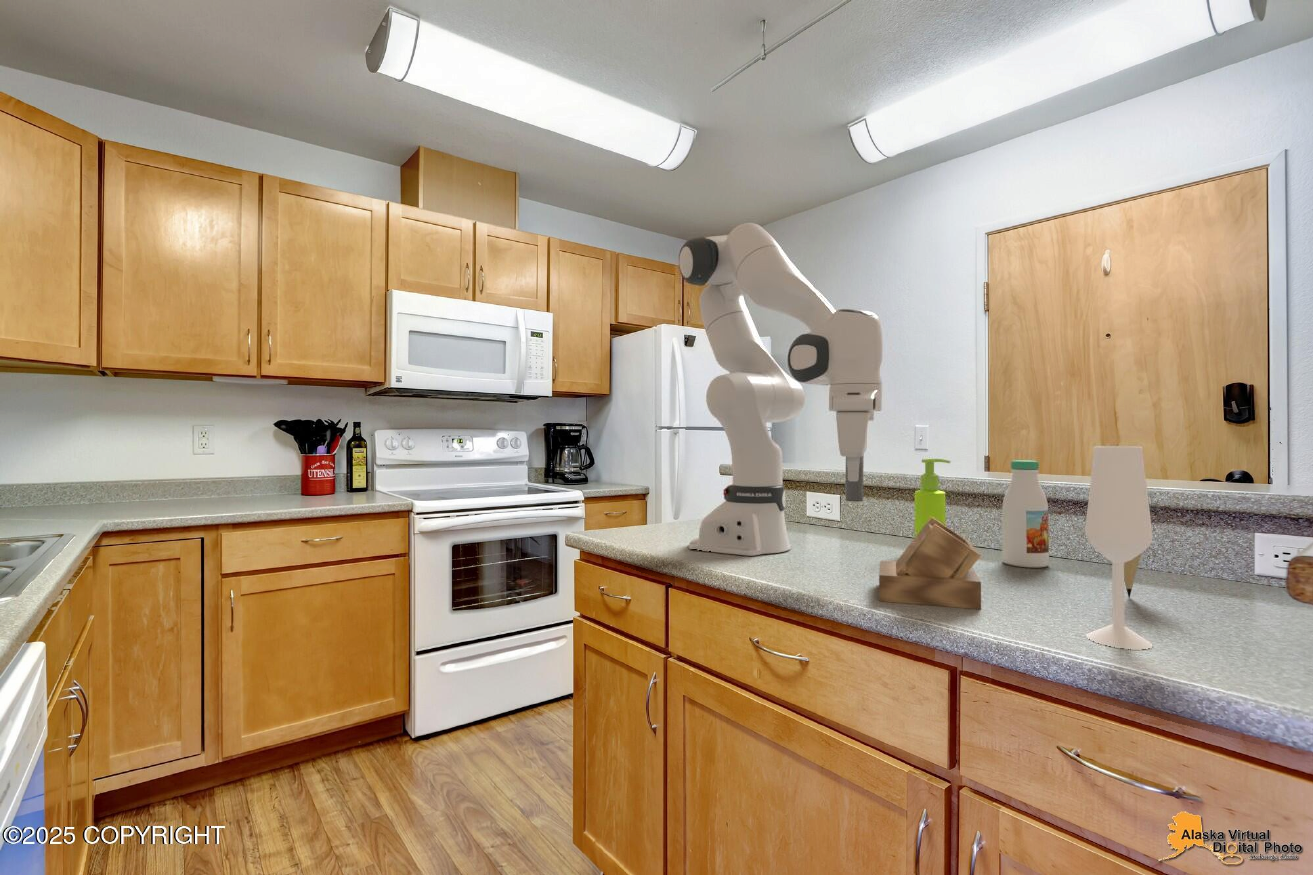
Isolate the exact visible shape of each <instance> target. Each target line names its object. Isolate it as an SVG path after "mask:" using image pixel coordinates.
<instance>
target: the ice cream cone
mask: <svg viewBox="0 0 1313 875" xmlns="http://www.w3.org/2000/svg"><path fill="white" fill-rule="evenodd" d="M1151 526H1152V527H1153V525H1152V524H1151ZM1141 556H1142V553H1141V554H1139V555H1138V556H1136V557H1135V558H1133V559H1132V560H1130V561H1128V562H1125V563H1124V586H1125V588H1126V592H1127V597H1128V599H1131V598H1130V597H1131V594H1132V590H1133V586H1134V582H1135V578H1136V574H1137V571H1138V567H1139V563H1140V559H1141Z"/></svg>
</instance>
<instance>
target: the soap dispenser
mask: <svg viewBox="0 0 1313 875" xmlns="http://www.w3.org/2000/svg"><path fill="white" fill-rule="evenodd" d="M951 462H952V461H951V460H947V459H942V458H925V459H921V463H924V466H925V467H924V468H925V469H924V470H925V471H924V473H923V474H921V475H920V489H919V490H918V489H917V490H915V491H914V538H915V537H916V536H917V535H918V533H919V532H920V531H921V529H922V528H923V527H924V526H925V524H926V523H927V522H928V520H929V519H930V518H931V517H933V518H934V519H936V520H937V521H939V522H940V523H942V524H943V525H945V526H946V492H945V491H942V490H940V489H939V486H940V485H939V484H940V482H939V480H940V479H939V478H940V477H939V475H938V474H937V473H935V463H947V464H950V463H951Z"/></svg>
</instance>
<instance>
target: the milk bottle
mask: <svg viewBox="0 0 1313 875" xmlns="http://www.w3.org/2000/svg"><path fill="white" fill-rule="evenodd" d="M1010 468H1011V470H1010V471H1011V473H1012V477H1011V480H1010V484H1009V485H1008V488H1007V490H1006V491H1005V494H1004V496H1003V500H1002V513H1001V517H1002V518H1001V521H1002V523H1001V532H1002V533H1001V542H1002V543H1001V547H1002V554H1001V556H1002V562H1003V563H1004V564H1006V565H1009V566H1015V567H1019V568H1020V567H1021V568H1022V567H1023V568H1031V569H1032V568H1045V567H1048V565H1049V563H1050V543H1049V542H1050V540H1049V539H1050V537H1049V536H1050V534H1049V532H1050V528H1049V521H1050V520H1049V519H1050V518H1049V505H1048V504H1049V503H1048V500H1047V496H1046V494H1045V492H1044V490H1043V488H1042V486H1041V483H1040V481H1039V477H1038V473H1039V468H1040V462H1039V461H1038V460H1028V459H1026V460H1024V459H1021V460H1020V459H1019V460H1016V459H1015V460H1011V462H1010Z"/></svg>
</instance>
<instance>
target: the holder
mask: <svg viewBox="0 0 1313 875" xmlns="http://www.w3.org/2000/svg"><path fill="white" fill-rule="evenodd" d="M981 556H982V555H981V553H979V552H978V551H977V549H975V544H973V543H972V542H970V541H969V540H967V539H966V538H964V537H963V536H961V535H960V534H958V533H957V532H956V531H954V530H953V529H951V528H949V527H948V526H946V524H945V525H943V524H942V523H940V522H939V521H937V520H936V519H934V518H933V517H931V518H930V519H929V520H928V522H927V523H926V524H925V526H924V527H923V528H922V529H921V531H920V532H919V533H918V535H917V536H916V537H915V536H914V538H913V539H912V541H911V542H910V543H909V545H908V546H907V548H906V549H905V550H904V551H903V552H902V554H901V555H900V556H899V558H898V559H897V560H895V561H889V560H880V561H879V570H878V571H879V572H878V574H879V575H878V586H879V587H878V588H879V589H878V592H879V593H878V598H879V600H878V601H879V602H887V603H888V602H889V603H900V604H910V605H911V604H912V605H913V604H914V605H925V606H938V607H949V608H962V609H963V608H964V609H973V610H975V609H976V610H981V609H982V582H981V579H980V577H979V576H978V574H977V573H976V571H975V569H974V567H973V566H974V565H975V564H976V563H977V561H979V559H980V558H981Z"/></svg>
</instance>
